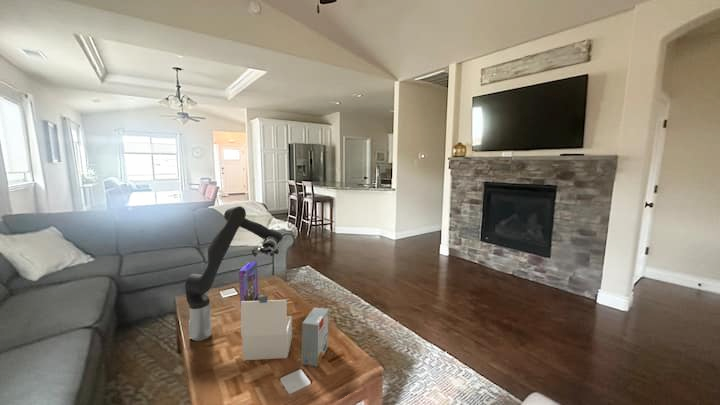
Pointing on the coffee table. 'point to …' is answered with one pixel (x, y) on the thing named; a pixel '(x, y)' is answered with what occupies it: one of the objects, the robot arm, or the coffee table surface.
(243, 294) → the cereal box
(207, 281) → the robot arm
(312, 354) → the hard drive box
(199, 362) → the coffee table surface
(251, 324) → the flap
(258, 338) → the carton
